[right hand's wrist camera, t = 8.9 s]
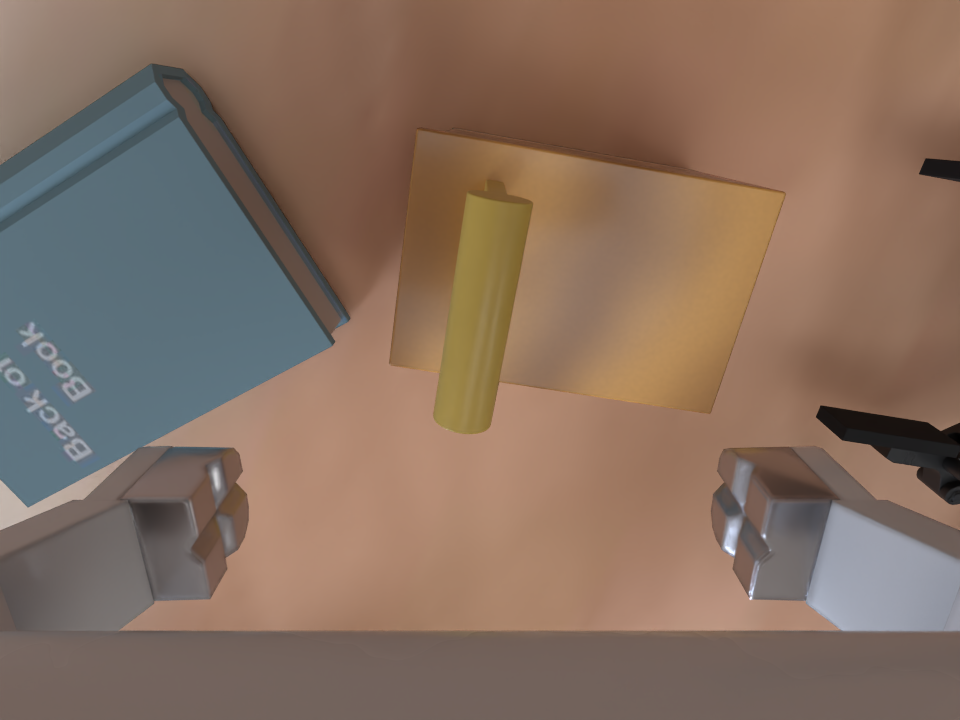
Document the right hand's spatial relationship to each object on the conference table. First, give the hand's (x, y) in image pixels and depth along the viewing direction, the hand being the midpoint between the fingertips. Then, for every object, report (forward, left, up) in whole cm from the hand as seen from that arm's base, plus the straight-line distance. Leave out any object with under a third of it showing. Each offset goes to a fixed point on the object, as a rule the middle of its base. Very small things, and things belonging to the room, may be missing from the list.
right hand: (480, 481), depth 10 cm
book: (-22, 0, -28) cm, 36 cm away
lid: (+4, -1, -17) cm, 17 cm away
